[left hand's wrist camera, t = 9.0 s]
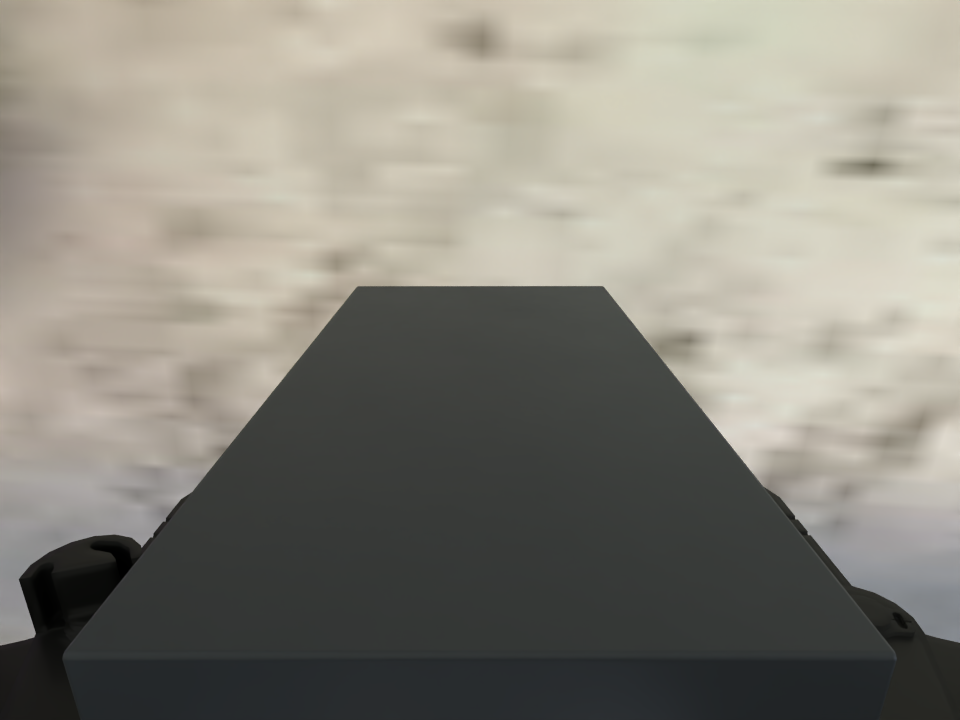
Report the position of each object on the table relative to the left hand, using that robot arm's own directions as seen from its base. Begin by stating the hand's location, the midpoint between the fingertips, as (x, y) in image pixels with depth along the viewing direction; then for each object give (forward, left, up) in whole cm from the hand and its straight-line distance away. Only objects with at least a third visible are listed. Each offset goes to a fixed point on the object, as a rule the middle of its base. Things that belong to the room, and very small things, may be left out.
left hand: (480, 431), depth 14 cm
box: (+7, +2, -3) cm, 8 cm away
